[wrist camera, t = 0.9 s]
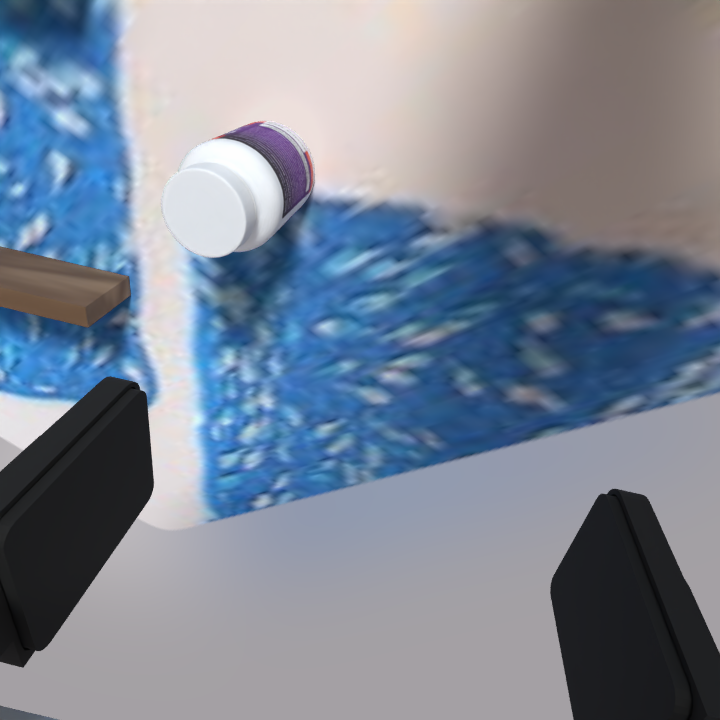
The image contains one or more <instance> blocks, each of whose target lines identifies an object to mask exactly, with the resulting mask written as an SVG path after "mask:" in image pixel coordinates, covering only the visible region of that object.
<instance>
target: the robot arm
mask: <svg viewBox="0 0 720 720" xmlns="http://www.w3.org/2000/svg"><path fill="white" fill-rule="evenodd" d="M153 487H154V479H153V467H152V455H151V443H150V431H149V419H148V406H147V396H146V393H145V392H144V391H141V390H140V387H139V385H138V383H136V382H133V381H128V380H124V379H119V378H115V377H106V378H104V379H103V380H102V381H101V382H100V383H98V384H97V385H96V386H95V387H94V388H93V389H92V390H91V391H90V392H88V393H87V394H86V395H85V396H84V397H83V398H82V399H81V400H80V401H79V402H77V403H76V404H75V405H74V406H73V407H72V408H71V409H70V410H69V411H67V412H66V413H65V414H64V415H63V416H62V417H61V418H60V419H59V420H58V421H56V422H55V423H54V424H53V425H52V426H51V427H50V428H49V429H48V430H46V431H45V432H44V433H43V434H42V435H41V436H39V437H38V438H37V439H36V440H35V441H34V442H33V443H31V444H30V445H29V446H28V447H27V448H26V449H25V450H24V451H23V452H21V453H20V454H19V455H18V456H17V457H16V458H15V459H14V460H13V461H12V462H10V463H9V464H8V465H7V466H6V467H5V468H4V469H3V470H2V471H1V472H0V662H3V663H7V664H11V665H15V666H19V667H24V666H25V664H26V663H27V662H28V660H29V659H30V657H31V656H32V654H33V653H34V652H35V650H36V651H41V650H43V649H44V648H45V647H47V646H48V644H49V643H50V642H51V641H52V639H53V638H54V636H55V635H56V633H57V632H58V630H59V629H60V628H61V626H62V625H63V623H64V622H65V620H66V619H67V617H68V616H69V615H70V613H71V612H72V610H73V609H74V607H75V606H76V604H77V603H78V602H79V600H80V599H81V597H82V596H83V594H84V593H85V592H86V590H87V589H88V587H89V586H90V584H91V583H92V581H93V580H94V579H95V577H96V576H97V574H98V573H99V571H100V570H101V569H102V567H103V566H104V564H105V563H106V561H107V560H108V558H109V557H110V555H111V554H112V553H113V551H114V550H115V548H116V547H117V545H118V544H119V543H120V541H121V540H122V538H123V537H124V535H125V534H126V533H127V531H128V529H129V528H130V527H131V525H132V524H133V522H134V521H135V520H136V518H137V517H138V515H139V514H140V512H141V511H142V509H143V508H144V507H145V505H146V504H147V502H148V501H149V499H150V497H151V495H152V491H153ZM550 593H551V600H552V605H553V610H554V616H555V621H556V626H557V632H558V638H559V643H560V648H561V653H562V659H563V665H564V669H565V675H566V681H567V686H568V691H569V697H570V702H571V708H572V712H573V718H574V720H720V653H719V651H718V649H717V647H716V644H715V642H714V640H713V638H712V636H711V633H710V631H709V629H708V627H707V625H706V622H705V620H704V618H703V616H702V614H701V611H700V609H699V607H698V605H697V603H696V600H695V598H694V596H693V594H692V592H691V589H690V587H689V585H688V584H687V582H686V581H685V579H684V577H683V575H682V573H681V571H680V568H679V566H678V564H677V562H676V559H675V557H674V555H673V553H672V551H671V549H670V546H669V544H668V542H667V539H666V537H665V535H664V533H663V531H662V528H661V526H660V524H659V522H658V519H657V517H656V515H655V513H654V511H653V508H652V506H651V504H650V502H649V500H648V499H647V497H646V496H644V495H641V494H636V493H632V492H627V491H623V490H618V489H612V490H610V491H609V492H608V494H600V495H599V496H598V498H597V499H596V501H595V503H594V505H593V506H592V508H591V510H590V512H589V514H588V515H587V517H586V519H585V521H584V523H583V524H582V526H581V528H580V530H579V531H578V533H577V535H576V537H575V539H574V540H573V542H572V544H571V546H570V547H569V549H568V551H567V553H566V555H565V556H564V558H563V560H562V562H561V563H560V565H559V567H558V569H557V570H556V572H555V574H554V576H553V578H552V582H551V592H550ZM0 720H58V719H53V718H49V717H45V716H41V715H37V714H32V713H28V712H24V711H20V710H15V709H11V708H7V707H3V706H0Z"/></svg>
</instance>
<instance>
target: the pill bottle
mask: <svg viewBox="0 0 720 720" xmlns="http://www.w3.org/2000/svg"><path fill="white" fill-rule="evenodd" d="M314 178H315V168H314V162H313V158H312V155H311V153H310V150H309V148H308V147H307V145H306V143H305V142H304V141H303V139H302V138H301V137H300V136H299V135H298V134H297V133H296V132H295V131H293V130H292V129H291V128H289V127H287V126H285V125H283V124H281V123H278V122H274V121H258V122H254V123H250V124H247V125H245V126H242V127H240V128H238V129H235V130H233V131H230V132H228V133H225V134H223V135H221V136H218V137H216V138H213V139H211V140H209V141H206V142H203V143H201V144H200V145H198V146H196V147H195V148H193V149H192V150H191V151H190V152H189V153H188V154H187V155H186V156H185V158H184V159H183V161H182V162H181V164H180V167H179V169H178V172H177V173H176V174H174V175H173V176H172V177H171V178H170V179H169V180H168V182H167V184H166V185H165V187H164V190H163V194H162V199H161V207H162V214H163V218H164V220H165V223H166V225H167V227H168V229H169V231H170V232H171V234H172V235H173V236H174V238H175V239H176V240H177V241H178V242H179V243H180V244H181V245H182V246H184V247H185V248H186V249H188V250H189V251H191V252H193V253H195V254H197V255H200V256H203V257H210V258H215V257H222V256H226V255H228V254H230V253H232V252H244V251H249V250H252V249H255V248H257V247H259V246H261V245H262V244H264V243H265V242H267V241H268V240H269V239H270V238H271V237H272V236H273V235H274V234H275V233H276V232H277V231H278V230H279V229H280V228H281V227H282V226H283V225H284V224H285V223H286V222H287V221H288V220H289V219H290V218H291V217H292V216H293V215H294V214H295V213H296V212H297V211H298V210H299V209H300V208H301V206H302V205H303V204H304V203H305V201H306V200H307V199H308V197H309V195H310V193H311V191H312V188H313V184H314Z"/></svg>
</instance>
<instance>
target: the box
mask: <svg viewBox="0 0 720 720" xmlns="http://www.w3.org/2000/svg"><path fill="white" fill-rule="evenodd" d="M130 295H131V293H130V283H129V276H125V275H121V274H116V273H112V272H108V271H103V270H99V269H95V268H90V267H86V266H82V265H77V264H73V263H69V262H65V261H60V260H56V259H52V258H47V257H43V256H39V255H34V254H30V253H26V252H21V251H17V250H13V249H9V248H4V247H0V307H5V308H9V309H13V310H17V311H21V312H25V313H30V314H34V315H38V316H42V317H46V318H51V319H55V320H59V321H63V322H67V323H71V324H76V325H80V326H84V327H90V326H91V325H92V324H94V323H95V322H96V321H98V320H99V319H100V318H101V317H103V316H104V315H105V314H107V313H108V312H109V311H111V310H112V309H113V308H115V307H116V306H117V305H118V304H120V303H121V302H122V301H124V300H125V299H126V298H128V297H129V296H130Z"/></svg>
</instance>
